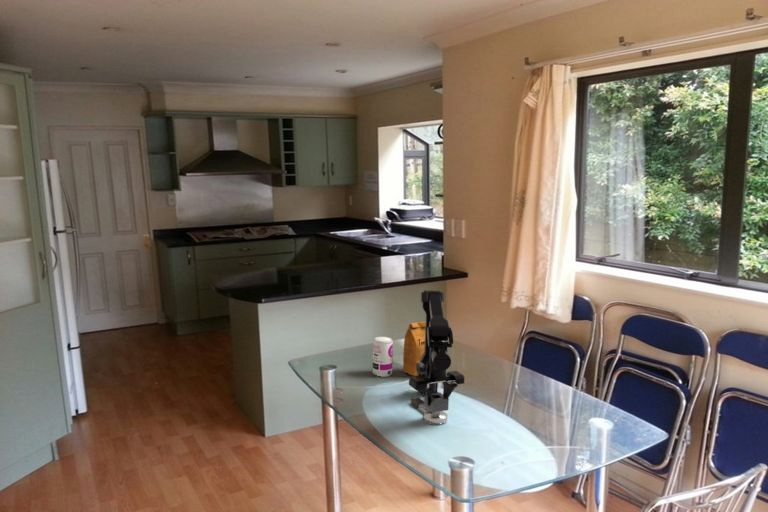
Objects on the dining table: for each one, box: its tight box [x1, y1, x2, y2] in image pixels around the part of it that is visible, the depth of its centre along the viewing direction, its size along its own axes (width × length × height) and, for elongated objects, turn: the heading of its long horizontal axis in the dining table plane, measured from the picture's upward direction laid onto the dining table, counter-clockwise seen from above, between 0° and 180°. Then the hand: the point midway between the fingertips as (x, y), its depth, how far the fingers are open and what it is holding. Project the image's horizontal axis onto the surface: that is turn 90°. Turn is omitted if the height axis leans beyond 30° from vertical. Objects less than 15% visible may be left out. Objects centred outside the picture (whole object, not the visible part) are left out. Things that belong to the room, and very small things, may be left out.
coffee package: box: [402, 320, 425, 377], centre depth 245 cm, size 10×12×22 cm
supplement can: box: [372, 336, 394, 378], centre depth 243 cm, size 8×8×15 cm
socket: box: [423, 391, 450, 412], centre depth 200 cm, size 6×6×4 cm
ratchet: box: [410, 397, 448, 425], centre depth 206 cm, size 8×20×6 cm, turn 24°
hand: (436, 404), depth 200 cm, fingers closed on socket, 6 cm apart
